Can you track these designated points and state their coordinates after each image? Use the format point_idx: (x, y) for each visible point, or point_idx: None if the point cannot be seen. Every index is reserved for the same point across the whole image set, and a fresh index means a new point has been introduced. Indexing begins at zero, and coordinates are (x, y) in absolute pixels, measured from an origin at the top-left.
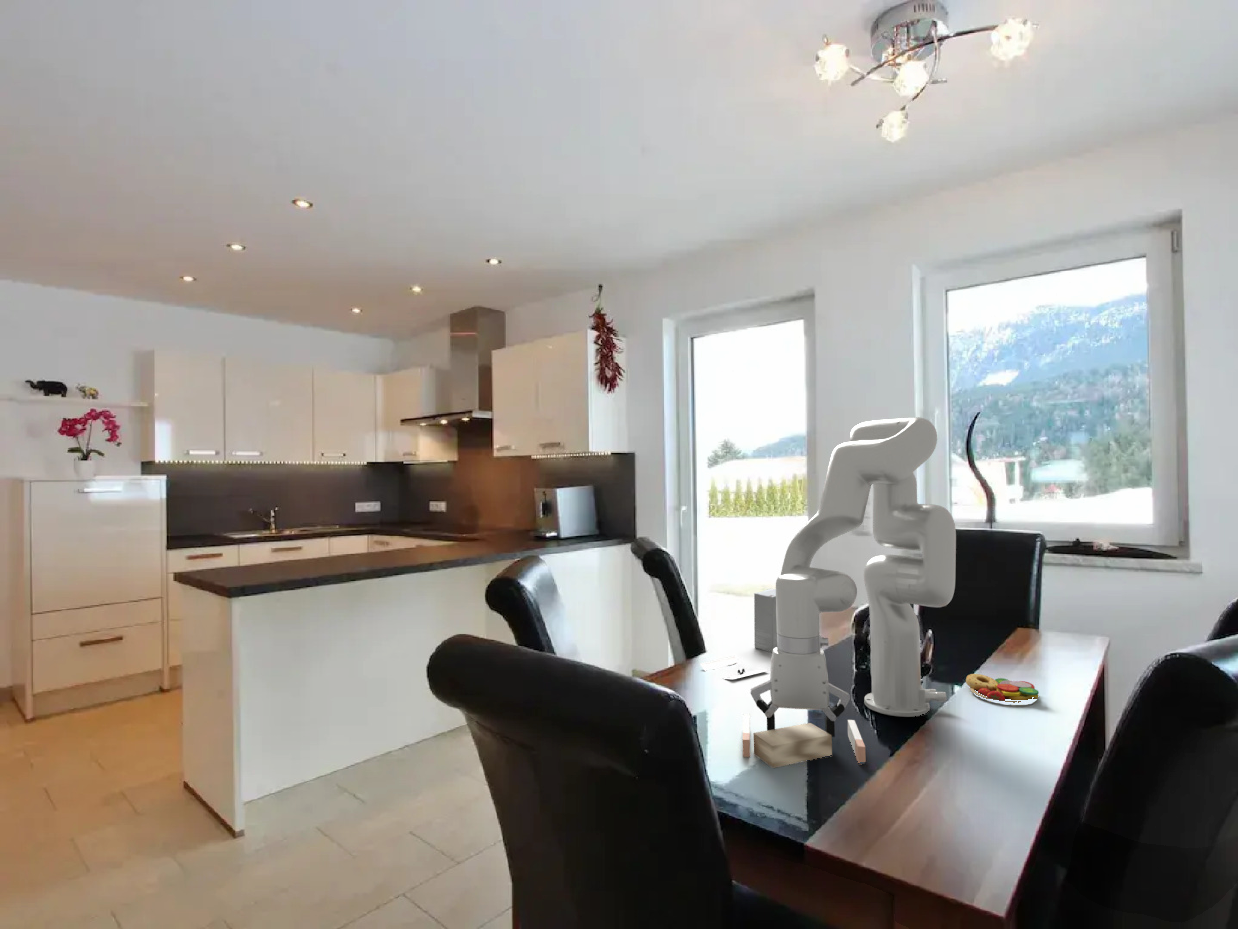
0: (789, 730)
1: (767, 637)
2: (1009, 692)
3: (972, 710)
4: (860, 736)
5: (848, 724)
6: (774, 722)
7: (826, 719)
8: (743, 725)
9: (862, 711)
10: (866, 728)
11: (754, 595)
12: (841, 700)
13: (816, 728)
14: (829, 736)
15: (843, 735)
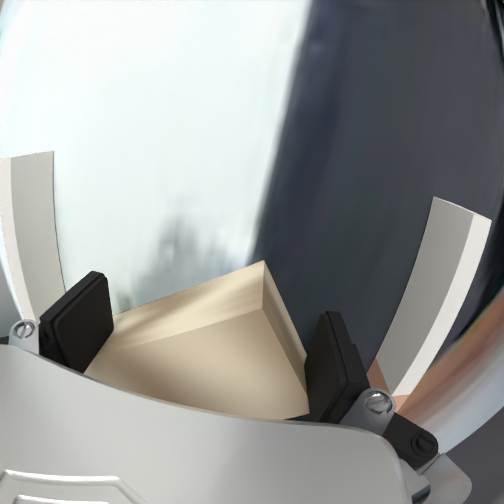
0: (148, 375)
1: None
2: None
3: None
4: (421, 375)
5: (459, 238)
6: (82, 371)
7: (324, 417)
8: (11, 273)
9: (494, 14)
10: (497, 136)
11: None
12: (411, 497)
13: (274, 368)
14: (305, 411)
15: (421, 187)
